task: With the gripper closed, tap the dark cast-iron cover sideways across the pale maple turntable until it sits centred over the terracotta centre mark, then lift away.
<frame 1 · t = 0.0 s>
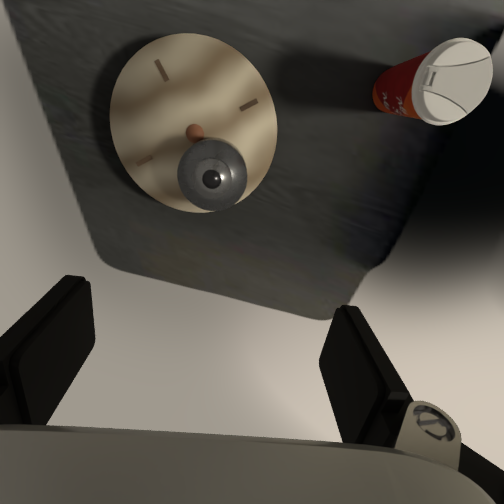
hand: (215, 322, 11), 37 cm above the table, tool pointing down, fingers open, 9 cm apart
paper cup: (391, 90, 42), on the table
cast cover: (214, 171, 42), point 4 cm above the table, touching turntable
turntable: (196, 133, 41), point 3 cm above the table, hinge at 0.0°, touching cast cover
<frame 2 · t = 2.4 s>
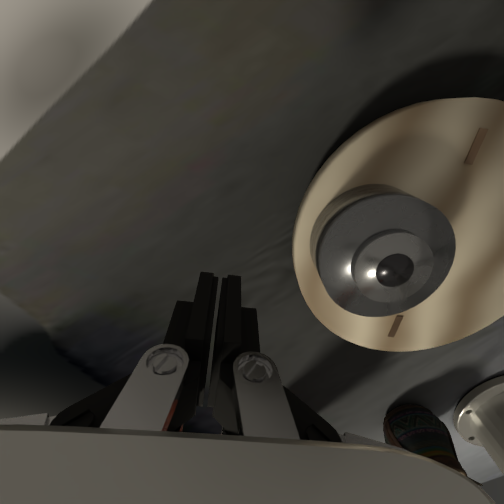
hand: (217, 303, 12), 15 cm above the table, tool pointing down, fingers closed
mate gourd: (403, 413, 38), on the table
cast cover: (365, 240, 24), point 4 cm above the table, touching turntable
turntable: (423, 244, 25), point 3 cm above the table, hinge at 0.0°, touching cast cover
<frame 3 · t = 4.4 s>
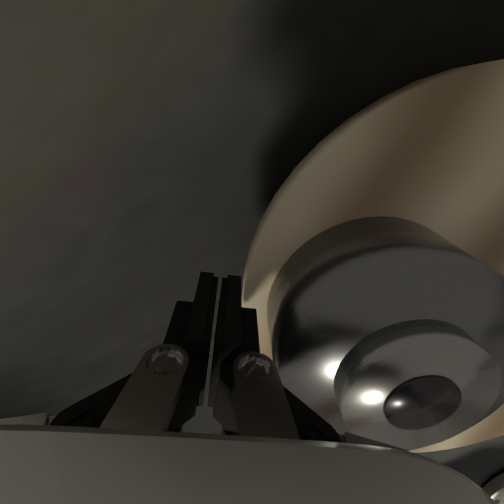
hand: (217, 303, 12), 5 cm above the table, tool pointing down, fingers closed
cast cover: (362, 307, 14), point 4 cm above the table, touching gripper
turntable: (452, 306, 16), point 3 cm above the table, hinge at 0.0°
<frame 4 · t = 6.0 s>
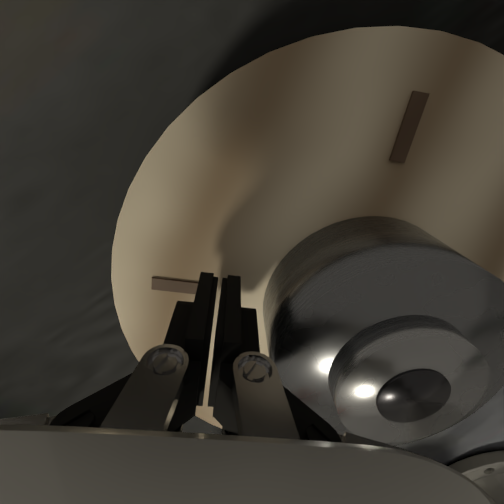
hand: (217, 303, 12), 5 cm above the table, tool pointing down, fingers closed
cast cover: (355, 305, 14), point 4 cm above the table, touching gripper, turntable
turntable: (339, 294, 15), point 3 cm above the table, hinge at 0.0°, touching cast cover
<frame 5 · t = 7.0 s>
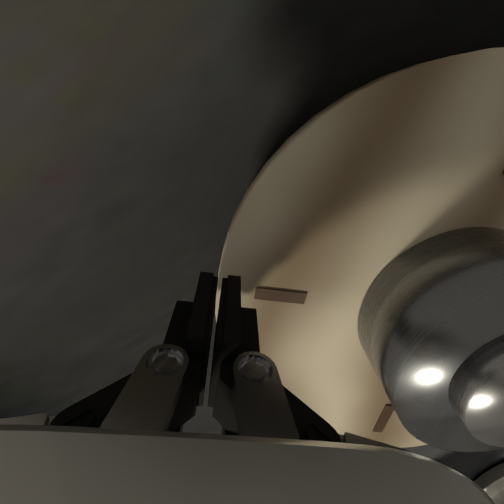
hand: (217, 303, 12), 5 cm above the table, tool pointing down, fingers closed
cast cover: (448, 312, 15), point 4 cm above the table, touching turntable
turntable: (427, 301, 16), point 3 cm above the table, hinge at 0.0°, touching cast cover
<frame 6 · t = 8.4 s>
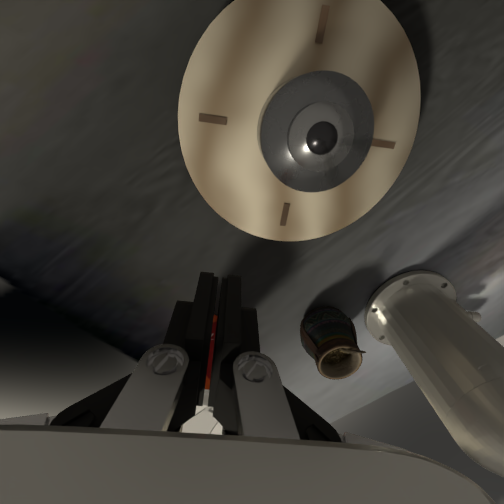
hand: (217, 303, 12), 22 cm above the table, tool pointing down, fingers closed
paper cup: (206, 328, 42), on the table
mate gourd: (320, 317, 42), on the table
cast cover: (306, 131, 27), point 4 cm above the table, touching turntable
turntable: (298, 131, 28), point 3 cm above the table, hinge at 0.0°, touching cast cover
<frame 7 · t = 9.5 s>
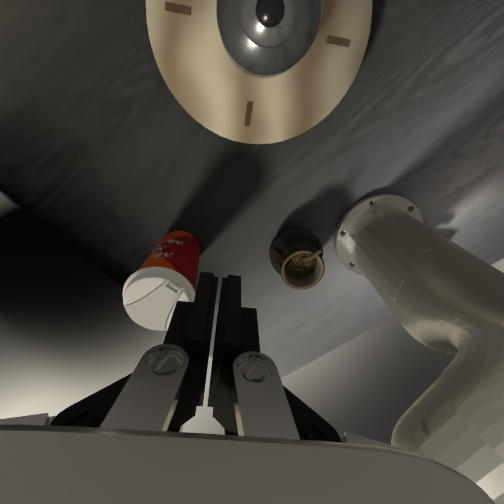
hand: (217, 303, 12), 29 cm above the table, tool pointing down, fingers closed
paper cup: (180, 247, 43), on the table
mate gourd: (291, 242, 44), on the table
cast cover: (265, 25, 29), point 4 cm above the table, touching turntable
turntable: (259, 28, 30), point 3 cm above the table, hinge at 0.0°, touching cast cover
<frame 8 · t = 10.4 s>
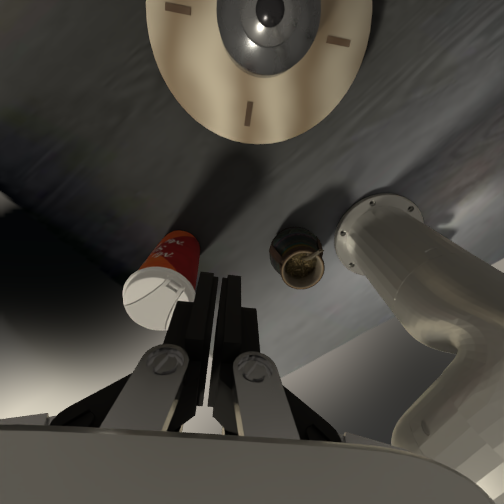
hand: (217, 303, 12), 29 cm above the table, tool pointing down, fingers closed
paper cup: (180, 247, 43), on the table
mate gourd: (291, 242, 44), on the table
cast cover: (265, 25, 29), point 4 cm above the table, touching turntable
turntable: (259, 28, 30), point 3 cm above the table, hinge at 0.0°, touching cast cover
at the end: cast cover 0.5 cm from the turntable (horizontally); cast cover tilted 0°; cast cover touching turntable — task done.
